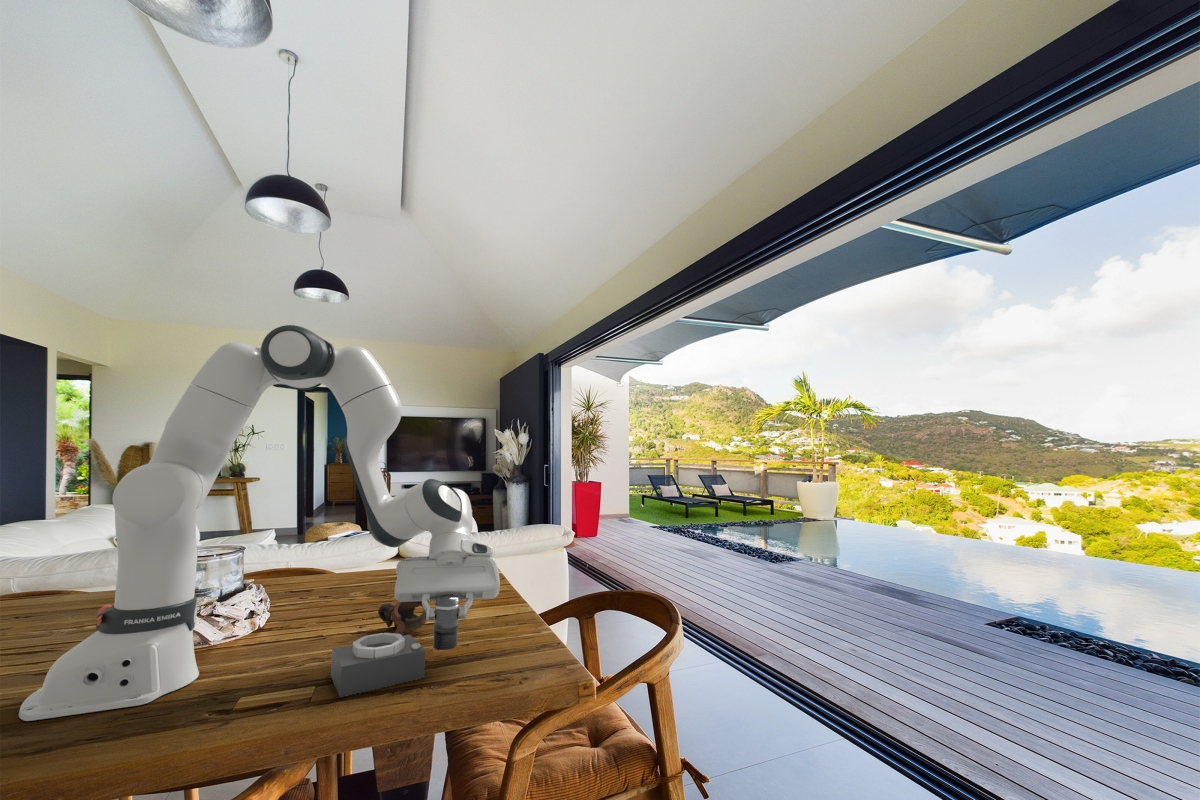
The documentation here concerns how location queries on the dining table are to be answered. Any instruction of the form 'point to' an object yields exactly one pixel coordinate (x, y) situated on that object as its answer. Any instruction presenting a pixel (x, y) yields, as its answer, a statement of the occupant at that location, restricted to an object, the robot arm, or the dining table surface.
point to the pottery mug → (402, 616)
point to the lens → (446, 621)
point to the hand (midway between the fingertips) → (446, 618)
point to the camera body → (376, 663)
